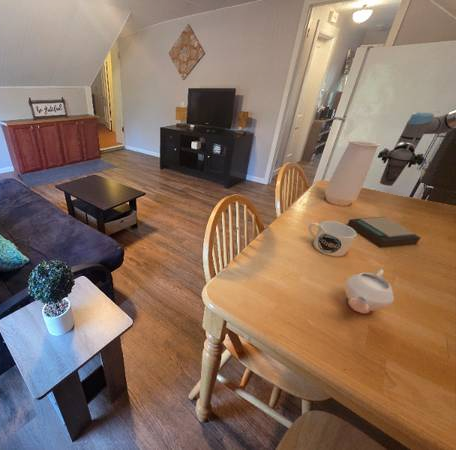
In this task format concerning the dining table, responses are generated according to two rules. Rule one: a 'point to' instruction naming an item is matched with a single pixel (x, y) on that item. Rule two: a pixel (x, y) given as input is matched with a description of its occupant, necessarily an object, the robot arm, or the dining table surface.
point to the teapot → (368, 292)
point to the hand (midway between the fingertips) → (397, 162)
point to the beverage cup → (396, 165)
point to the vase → (351, 172)
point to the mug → (333, 237)
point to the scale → (383, 232)
